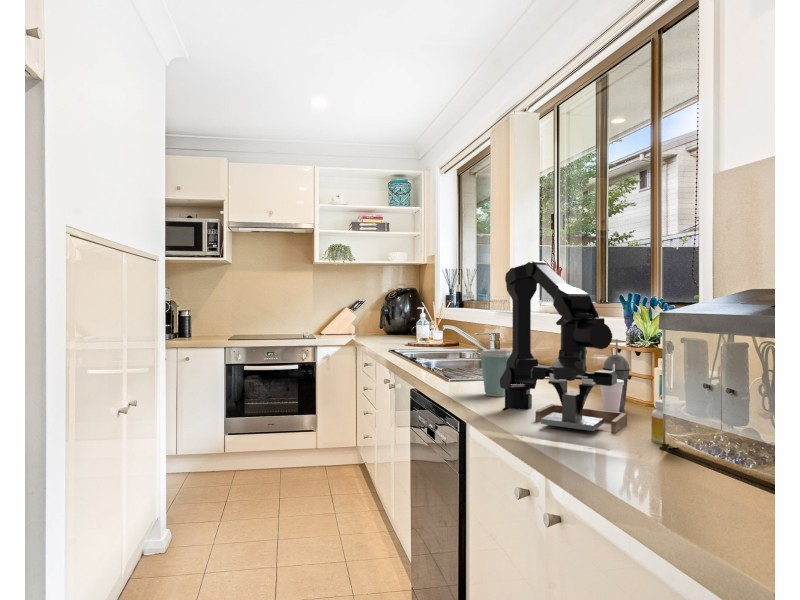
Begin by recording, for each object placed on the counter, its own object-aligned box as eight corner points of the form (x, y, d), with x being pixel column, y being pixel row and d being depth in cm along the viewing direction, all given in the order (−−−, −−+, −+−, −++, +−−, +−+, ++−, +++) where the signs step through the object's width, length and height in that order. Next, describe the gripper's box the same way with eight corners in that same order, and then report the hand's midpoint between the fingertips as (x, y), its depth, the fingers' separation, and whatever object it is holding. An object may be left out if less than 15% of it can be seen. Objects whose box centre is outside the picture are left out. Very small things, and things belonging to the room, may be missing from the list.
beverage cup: (601, 410, 156) (602, 339, 155) (602, 405, 162) (603, 338, 162) (629, 412, 153) (630, 340, 153) (629, 408, 160) (630, 339, 160)
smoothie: (625, 419, 145) (626, 365, 145) (600, 417, 146) (600, 364, 146) (621, 414, 151) (621, 363, 151) (596, 412, 153) (597, 362, 152)
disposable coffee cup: (473, 395, 177) (474, 348, 176) (487, 391, 186) (487, 346, 186) (505, 399, 171) (506, 351, 171) (517, 394, 180) (518, 348, 180)
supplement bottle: (667, 451, 115) (668, 404, 115) (645, 444, 120) (646, 400, 120) (684, 448, 117) (685, 402, 117) (662, 441, 122) (662, 398, 122)
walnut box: (535, 425, 137) (535, 411, 136) (550, 417, 146) (551, 404, 146) (615, 437, 126) (615, 421, 126) (626, 427, 135) (626, 413, 135)
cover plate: (540, 423, 129) (541, 393, 129) (553, 417, 137) (553, 388, 137) (593, 431, 123) (593, 398, 123) (603, 423, 130) (603, 393, 130)
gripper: (522, 345, 128) (521, 412, 128) (606, 350, 118) (605, 423, 118) (539, 342, 137) (538, 405, 137) (617, 346, 127) (617, 414, 127)
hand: (572, 411), depth 130 cm, fingers closed on cover plate, 3 cm apart
